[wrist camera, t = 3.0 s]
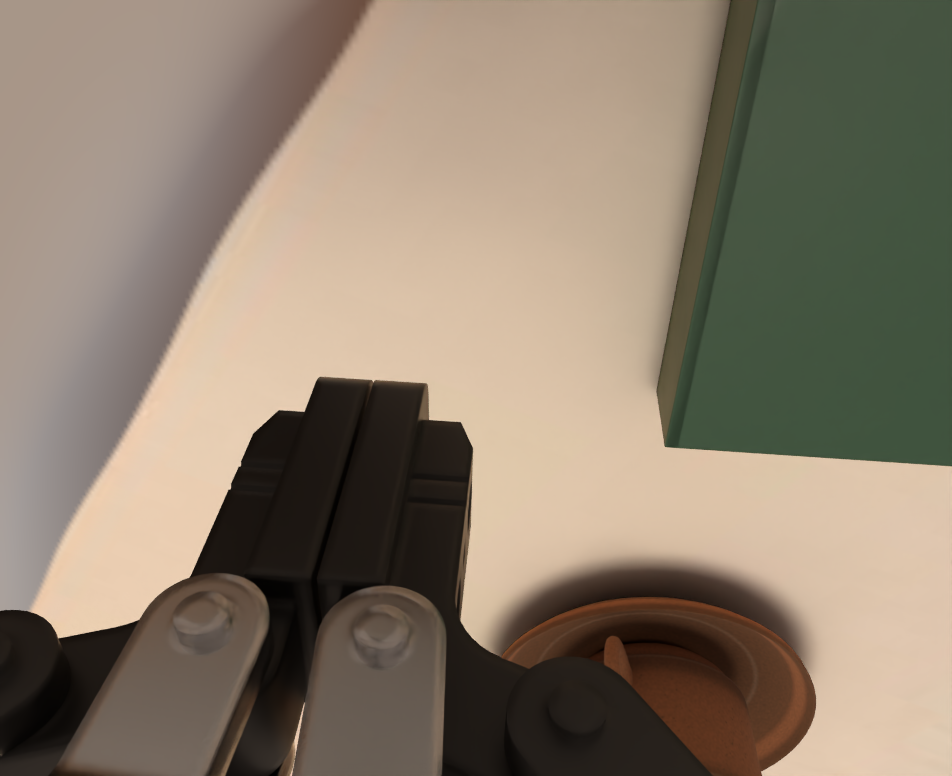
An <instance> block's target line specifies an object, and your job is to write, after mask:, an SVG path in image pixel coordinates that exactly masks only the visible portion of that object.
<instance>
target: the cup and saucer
mask: <svg viewBox="0 0 952 776" xmlns="http://www.w3.org/2000/svg"><path fill="white" fill-rule="evenodd" d="M565 656H568V657H581V658H587V659H590V660H593V661H596V662H599V663H602V664H604V665H606V666H608V667H610V668H611V669H613V670H614V671H615V672H617V673H618V674H620V675H621V676H622V677H623V678H624V679H625V680H626V681H627V682H628V683H629V684H630V685H631V686H632V687H633V688H634V689H635V690H636V691H637V693H638V694H639V695H640V696H641V697H642V698H643V699H644V700H645V701H646V702H647V704H648V705H649V706H650V707H651V708H652V709H653V710H654V711H655V712H656V713H657V715H658V716H659V717H660V718H661V719H662V720H663V721H664V722H665V723H666V724H667V726H668V727H669V728H670V729H671V730H672V731H673V732H674V733H675V734H676V735H677V737H678V738H679V739H680V740H681V741H682V742H683V743H684V744H685V745H686V746H687V748H688V749H689V750H690V751H691V752H692V753H693V754H694V755H695V756H696V757H697V759H698V760H699V761H700V762H701V763H702V764H703V765H704V766H705V767H706V768H707V770H708V771H709V772H710V773H711V774H712V775H713V776H762V774H761V771H763V770H765V769H767V768H768V767H770V766H772V765H773V764H775V763H776V762H778V761H779V760H781V759H782V758H784V757H785V756H786V755H787V754H788V753H790V752H791V751H792V750H793V749H794V748H795V747H796V746H797V745H798V744H799V743H800V741H801V740H802V739H803V737H804V736H805V735H806V733H807V731H808V729H809V728H810V726H811V723H812V721H813V718H814V714H815V709H816V695H815V689H814V686H813V683H812V680H811V678H810V675H809V673H808V672H807V670H806V668H805V666H804V664H803V663H802V661H801V659H800V658H799V657H798V655H797V654H796V653H795V652H794V650H793V649H792V648H791V647H790V646H789V645H788V644H787V643H786V642H785V641H784V640H783V639H781V638H780V637H779V636H777V635H776V634H775V633H774V632H772V631H770V630H769V629H767V628H766V627H764V626H762V625H760V624H758V623H756V622H755V621H753V620H751V619H748V618H746V617H743V616H741V615H739V614H736V613H734V612H731V611H729V610H726V609H723V608H719V607H716V606H713V605H709V604H705V603H701V602H696V601H691V600H685V599H677V598H667V597H632V598H620V599H613V600H607V601H601V602H597V603H592V604H588V605H585V606H581V607H578V608H575V609H572V610H569V611H567V612H564V613H562V614H559V615H557V616H555V617H553V618H551V619H549V620H547V621H545V622H543V623H541V624H540V625H538V626H536V627H535V628H533V629H531V630H530V631H528V632H527V633H525V634H524V635H523V636H521V637H520V638H519V639H518V640H516V641H515V642H514V643H513V644H512V645H511V646H510V647H509V648H508V649H507V650H506V651H505V653H504V654H503V655H502V657H501V658H503V659H506V660H508V661H511V662H513V663H516V664H518V665H521V666H523V667H526V668H528V669H530V668H531V667H533V666H534V665H536V664H538V663H540V662H542V661H545V660H548V659H552V658H557V657H565Z"/></svg>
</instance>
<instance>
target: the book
mask: <svg viewBox="0 0 952 776" xmlns="http://www.w3.org/2000/svg"><path fill="white" fill-rule="evenodd" d="M657 397H658V404H659V411H660V417H661V424H662V431H663V438H664V445H665V447H672V448H687V449H702V450H717V451H731V452H746V453H761V454H776V455H791V456H806V457H821V458H836V459H851V460H866V461H881V462H896V463H911V464H926V465H941V466H952V0H731V3H730V8H729V13H728V19H727V24H726V29H725V34H724V40H723V45H722V50H721V55H720V61H719V66H718V71H717V76H716V82H715V87H714V92H713V97H712V103H711V108H710V113H709V118H708V124H707V129H706V134H705V139H704V145H703V150H702V155H701V160H700V166H699V171H698V176H697V181H696V187H695V192H694V197H693V202H692V208H691V213H690V218H689V223H688V229H687V234H686V239H685V244H684V250H683V255H682V260H681V265H680V271H679V276H678V281H677V286H676V292H675V297H674V302H673V307H672V313H671V318H670V323H669V328H668V334H667V339H666V344H665V349H664V355H663V360H662V365H661V370H660V376H659V381H658V386H657Z"/></svg>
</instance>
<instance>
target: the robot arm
mask: <svg viewBox="0 0 952 776" xmlns="http://www.w3.org/2000/svg"><path fill="white" fill-rule="evenodd" d="M472 465H473V447H472V445H471V443H470V441H469V439H468V437H467V435H466V432H465V430H464V428H463V426H462V424H461V422H448V421H433V420H429V397H428V385H427V384H426V383H411V382H396V381H380V380H375V381H374V383H373V381H372V380H362V379H346V378H331V377H319V378H318V379H317V381H316V383H315V386H314V389H313V391H312V394H311V397H310V399H309V402H308V404H307V407H306V410H305V412H296V411H281V410H279V411H278V412H277V413H275V414H274V415H273V416H272V417H271V418H270V419H269V420H268V421H267V422H266V423H264V424H263V425H262V426H261V427H260V428H259V429H258V430H257V431H256V432H255V433H253V436H252V438H251V440H250V442H249V445H248V447H247V449H246V452H245V454H244V456H243V458H242V461H241V467H238V470H237V472H236V474H235V477H234V479H233V481H232V483H231V490H228V492H227V495H226V497H225V499H224V502H223V504H222V506H221V508H220V511H219V513H218V515H217V517H216V520H215V522H214V524H213V527H212V529H211V531H210V533H209V536H208V538H207V540H206V543H205V545H204V547H203V549H202V552H201V554H200V556H199V558H198V561H197V563H196V565H195V568H194V570H193V572H192V574H191V576H190V578H187V579H185V580H182V581H180V582H178V583H176V584H174V585H172V586H171V587H169V588H168V589H166V590H165V591H163V592H162V593H161V594H160V595H158V596H157V597H156V598H155V599H154V600H153V601H152V602H151V604H150V605H149V606H148V607H147V609H146V610H145V612H144V613H143V615H142V617H141V618H140V620H138V621H135V622H132V623H130V624H127V625H123V626H119V627H115V628H110V629H104V630H99V631H94V632H89V633H84V634H79V635H74V636H69V637H64V638H59V639H58V637H57V634H56V632H55V630H54V629H53V627H52V625H51V624H50V623H49V622H48V621H47V620H46V619H45V618H43V617H41V616H39V615H37V614H34V613H31V612H28V611H21V610H4V611H0V776H290V774H291V771H292V768H293V764H294V768H293V773H292V776H713V775H712V774H711V773H710V772H709V771H708V770H707V768H706V767H705V766H704V765H703V764H702V763H701V762H700V761H699V760H698V759H697V757H696V756H695V755H694V754H693V753H692V752H691V751H690V750H689V749H688V748H687V746H686V745H685V744H684V743H683V742H682V741H681V740H680V739H679V738H678V737H677V735H676V734H675V733H674V732H673V731H672V730H671V729H670V728H669V727H668V726H667V724H666V723H665V722H664V721H663V720H662V719H661V718H660V717H659V716H658V715H657V713H656V712H655V711H654V710H653V709H652V708H651V707H650V706H649V705H648V704H647V702H646V701H645V700H644V699H643V698H642V697H641V696H640V695H639V694H638V693H637V691H636V690H635V689H634V688H633V687H632V686H631V685H630V684H629V683H628V682H627V681H626V680H625V679H624V678H623V677H622V676H621V675H620V674H618V673H617V672H615V671H614V670H613V669H611V668H610V667H608V666H606V665H604V664H602V663H599V662H596V661H593V660H590V659H587V658H581V657H568V656H565V657H557V658H552V659H548V660H545V661H542V662H540V663H538V664H536V665H534V666H533V667H531V668H530V669H528V668H526V667H523V666H521V665H518V664H516V663H513V662H511V661H508V660H506V659H503V658H501V657H499V656H497V655H495V654H493V653H491V652H489V651H488V650H486V649H484V648H483V647H481V646H480V645H479V644H478V643H477V642H476V641H475V640H473V639H472V637H471V636H470V635H469V634H468V633H467V631H466V630H465V628H464V627H463V625H462V623H461V621H460V618H461V609H462V600H463V591H464V580H465V573H466V564H467V555H468V546H469V537H470V528H471V499H472ZM304 702H305V706H304V712H303V717H302V723H301V728H300V734H299V740H298V745H297V751H296V756H295V745H294V739H295V735H296V731H297V727H298V724H299V720H300V716H301V712H302V708H303V705H304ZM294 760H295V762H294Z"/></svg>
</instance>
